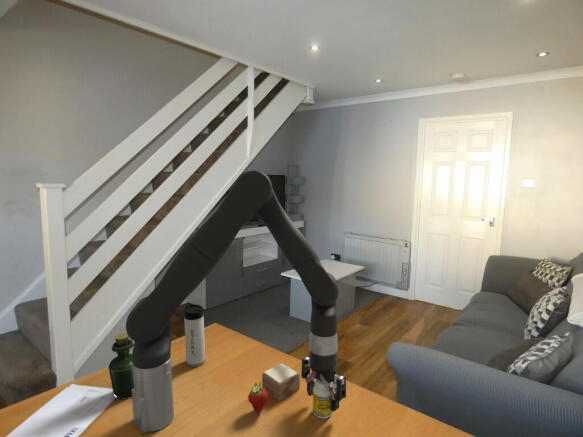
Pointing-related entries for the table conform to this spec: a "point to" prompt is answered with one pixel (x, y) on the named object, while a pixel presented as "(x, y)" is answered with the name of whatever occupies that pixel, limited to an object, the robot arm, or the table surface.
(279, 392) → the wooden block
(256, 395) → the fruit
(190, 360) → the travel mug
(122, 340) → the potion bottle
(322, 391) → the supplement bottle
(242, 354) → the table surface
